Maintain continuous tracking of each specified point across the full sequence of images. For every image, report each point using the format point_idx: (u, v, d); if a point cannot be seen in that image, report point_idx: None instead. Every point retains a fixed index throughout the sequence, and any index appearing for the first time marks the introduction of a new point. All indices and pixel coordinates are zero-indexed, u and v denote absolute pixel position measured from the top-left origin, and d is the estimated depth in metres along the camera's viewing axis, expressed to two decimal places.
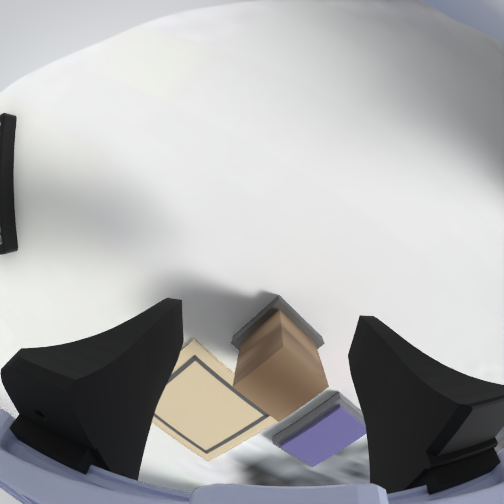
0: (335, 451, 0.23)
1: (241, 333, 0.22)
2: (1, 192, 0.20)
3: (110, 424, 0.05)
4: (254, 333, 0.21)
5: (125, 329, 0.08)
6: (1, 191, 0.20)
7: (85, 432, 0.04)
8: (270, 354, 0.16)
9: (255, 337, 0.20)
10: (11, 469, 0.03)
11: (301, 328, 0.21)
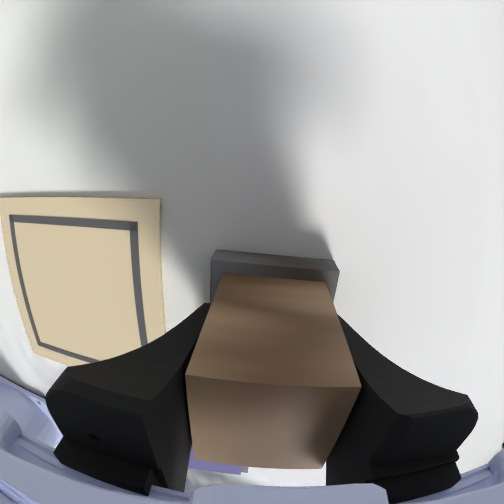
0: None
1: (239, 260, 0.12)
2: None
3: (169, 440, 0.05)
4: (261, 280, 0.11)
5: (173, 338, 0.08)
6: None
7: (154, 454, 0.04)
8: (319, 377, 0.06)
9: (264, 291, 0.10)
10: (11, 469, 0.03)
11: None
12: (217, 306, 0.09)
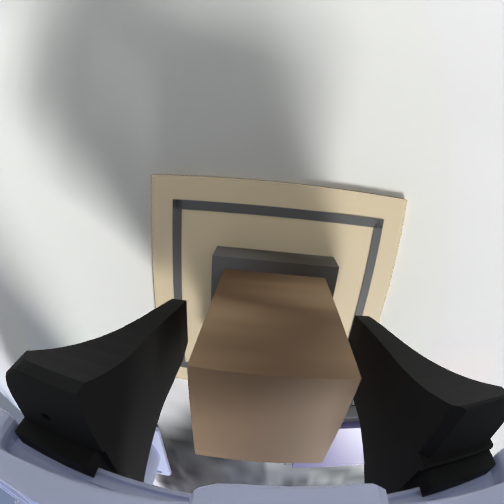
0: (334, 464, 0.16)
1: (239, 256, 0.12)
2: None
3: (117, 426, 0.05)
4: (261, 276, 0.11)
5: (131, 330, 0.08)
6: None
7: (93, 435, 0.04)
8: (319, 369, 0.06)
9: (265, 286, 0.10)
10: (11, 469, 0.03)
11: None
12: (218, 300, 0.09)
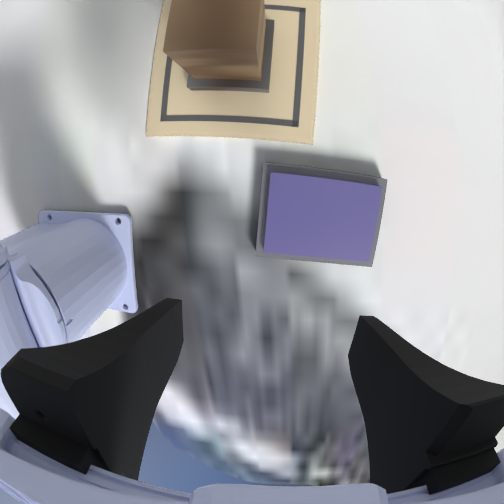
0: (311, 252, 0.19)
1: None
2: None
3: (109, 424, 0.05)
4: None
5: (125, 329, 0.08)
6: None
7: (85, 432, 0.04)
8: None
9: None
10: (11, 469, 0.03)
11: (264, 56, 0.15)
12: None
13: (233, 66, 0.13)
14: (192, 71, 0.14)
